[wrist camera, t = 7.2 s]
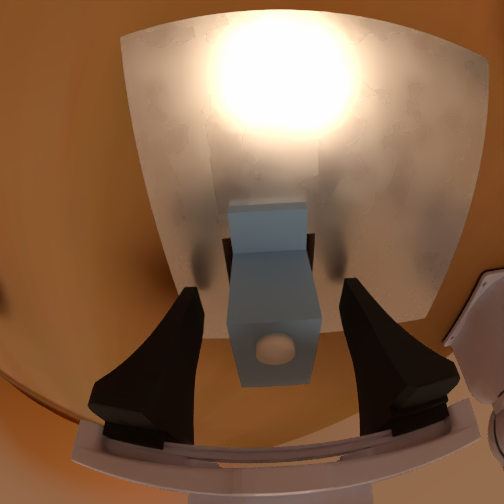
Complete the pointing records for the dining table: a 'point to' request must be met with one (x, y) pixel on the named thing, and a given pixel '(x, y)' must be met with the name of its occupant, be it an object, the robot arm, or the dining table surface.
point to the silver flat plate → (309, 147)
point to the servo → (272, 295)
